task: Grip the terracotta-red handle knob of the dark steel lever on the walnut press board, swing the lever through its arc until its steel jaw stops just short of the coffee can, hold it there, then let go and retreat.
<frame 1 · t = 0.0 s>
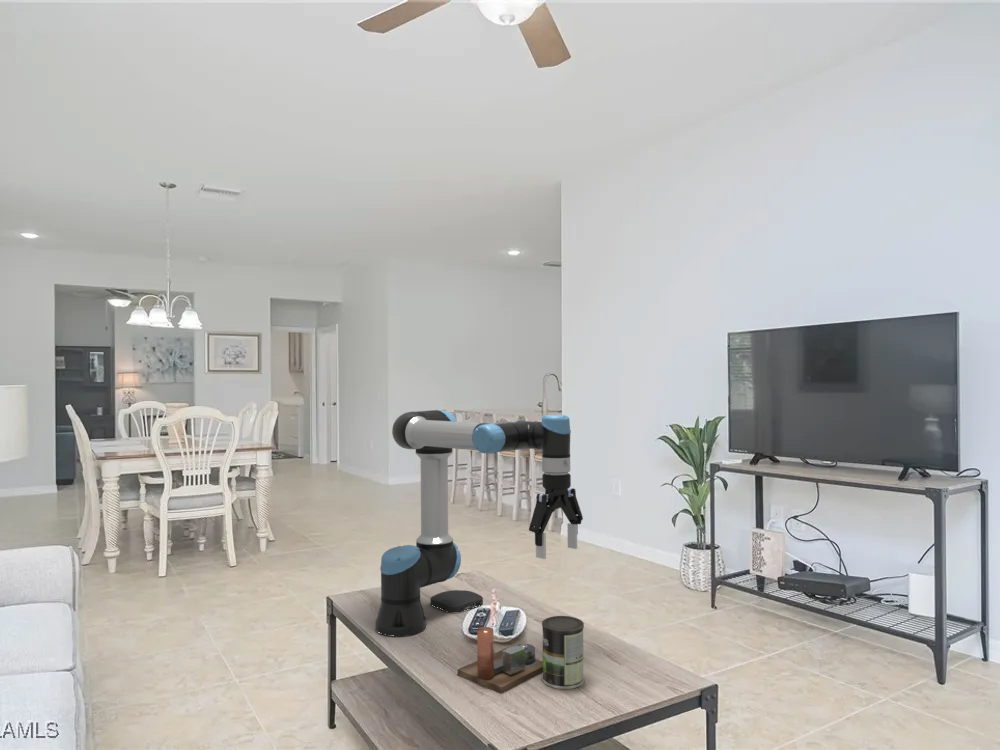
hand: (557, 553, 179), 28 cm above the table, tool pointing down, fingers open, 13 cm apart
press board: (503, 672, 171), on the table
lever: (508, 645, 169), point 8 cm above the table, hinge at 0.0°
media streaming box: (456, 605, 224), on the table
coffee can: (563, 681, 166), on the table
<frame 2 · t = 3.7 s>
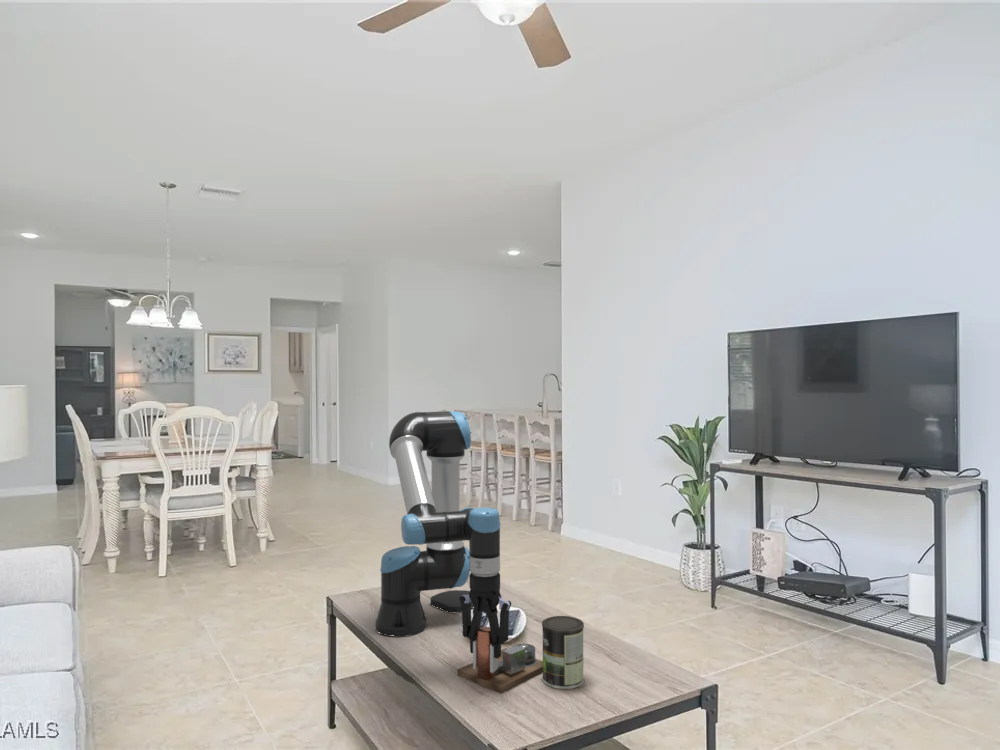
hand: (485, 668, 165), 4 cm above the table, tool pointing down, fingers closed on lever, 4 cm apart
lever: (508, 645, 169), point 8 cm above the table, hinge at 0.1°, touching gripper
everything else where it was.
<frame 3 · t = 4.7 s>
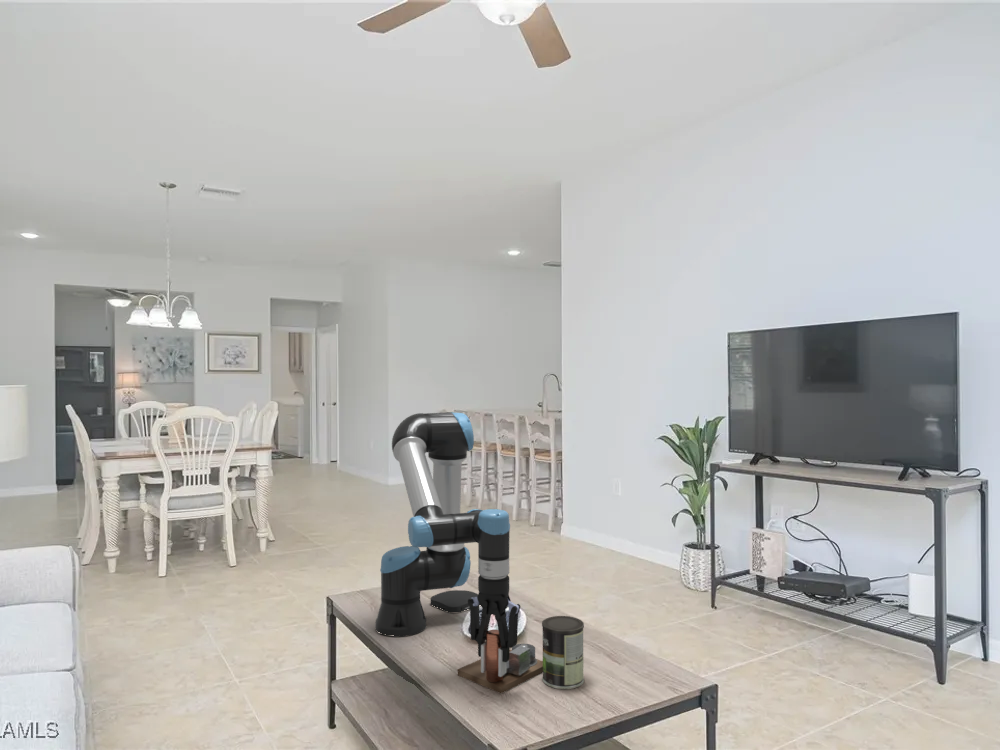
hand: (493, 672, 162), 4 cm above the table, tool pointing down, fingers closed on lever, 4 cm apart
lever: (512, 646, 168), point 8 cm above the table, hinge at 12.9°, touching gripper
everything else where it was.
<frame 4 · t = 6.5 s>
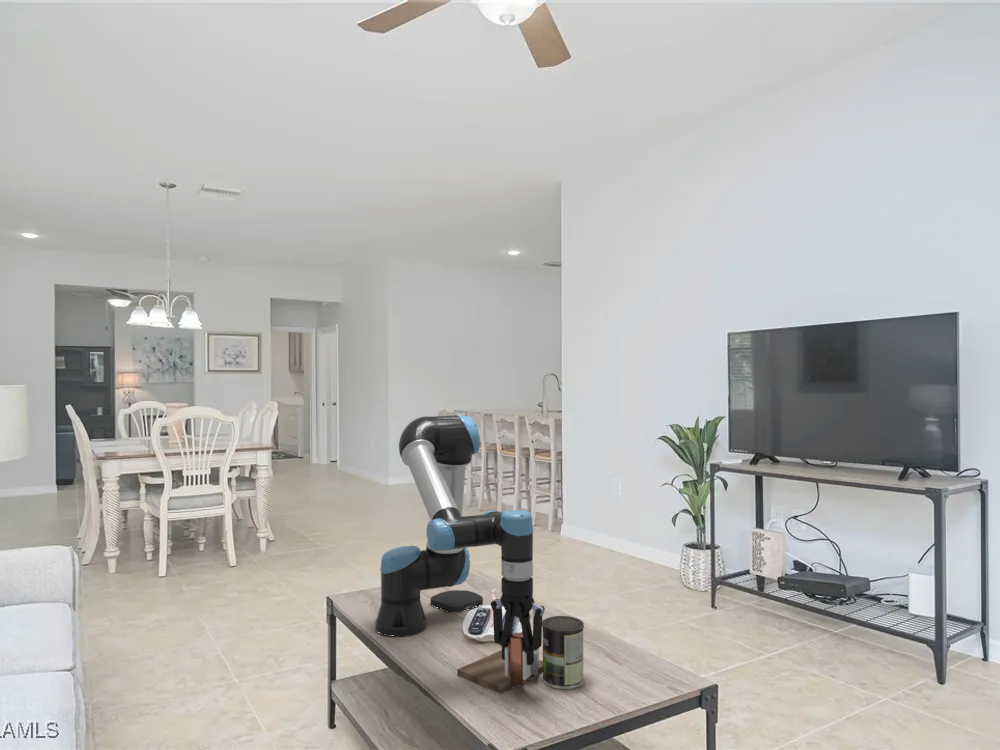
hand: (517, 675, 160), 4 cm above the table, tool pointing down, fingers closed on lever, 4 cm apart
lever: (523, 647, 167), point 8 cm above the table, hinge at 40.1°, touching gripper
everything else where it was.
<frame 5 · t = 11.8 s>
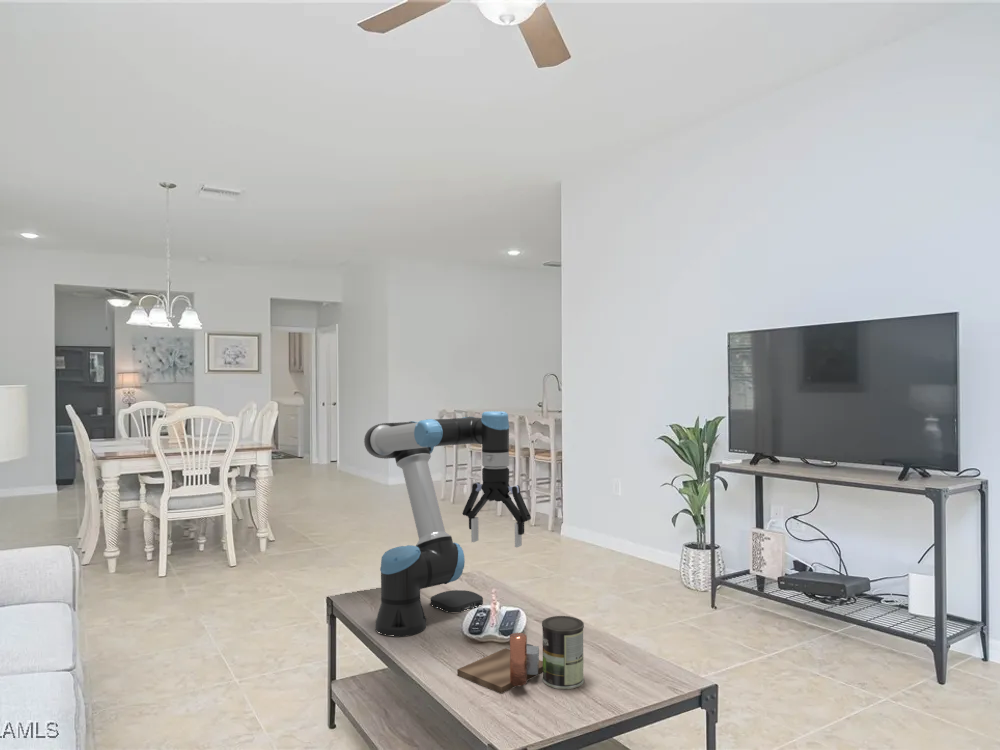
hand: (496, 543, 187), 29 cm above the table, tool pointing down, fingers open, 13 cm apart
lever: (523, 647, 167), point 8 cm above the table, hinge at 40.2°
everything else where it was.
at the end: lever at +40° (first picture: +0°); coffee can moved 0.2 cm from its start; coffee can tilted 0° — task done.
